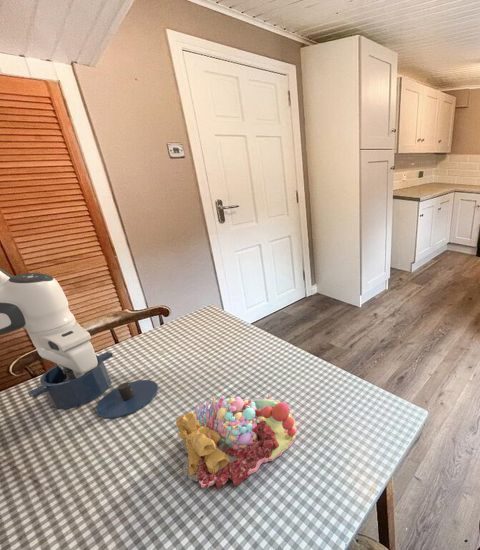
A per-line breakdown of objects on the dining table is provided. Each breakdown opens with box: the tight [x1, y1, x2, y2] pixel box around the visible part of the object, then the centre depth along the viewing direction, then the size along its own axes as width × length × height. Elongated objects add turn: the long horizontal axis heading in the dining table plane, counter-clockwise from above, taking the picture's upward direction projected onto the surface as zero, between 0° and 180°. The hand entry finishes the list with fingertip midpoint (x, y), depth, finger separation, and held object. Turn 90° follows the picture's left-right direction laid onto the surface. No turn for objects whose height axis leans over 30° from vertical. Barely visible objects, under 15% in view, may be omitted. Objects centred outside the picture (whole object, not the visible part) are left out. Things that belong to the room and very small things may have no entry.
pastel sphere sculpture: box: [175, 394, 298, 492], centre depth 71 cm, size 25×24×9 cm
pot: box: [27, 351, 114, 410], centre depth 84 cm, size 13×18×8 cm
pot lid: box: [95, 379, 159, 420], centre depth 82 cm, size 14×14×5 cm
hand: (75, 375), depth 84 cm, fingers closed on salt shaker, 3 cm apart
